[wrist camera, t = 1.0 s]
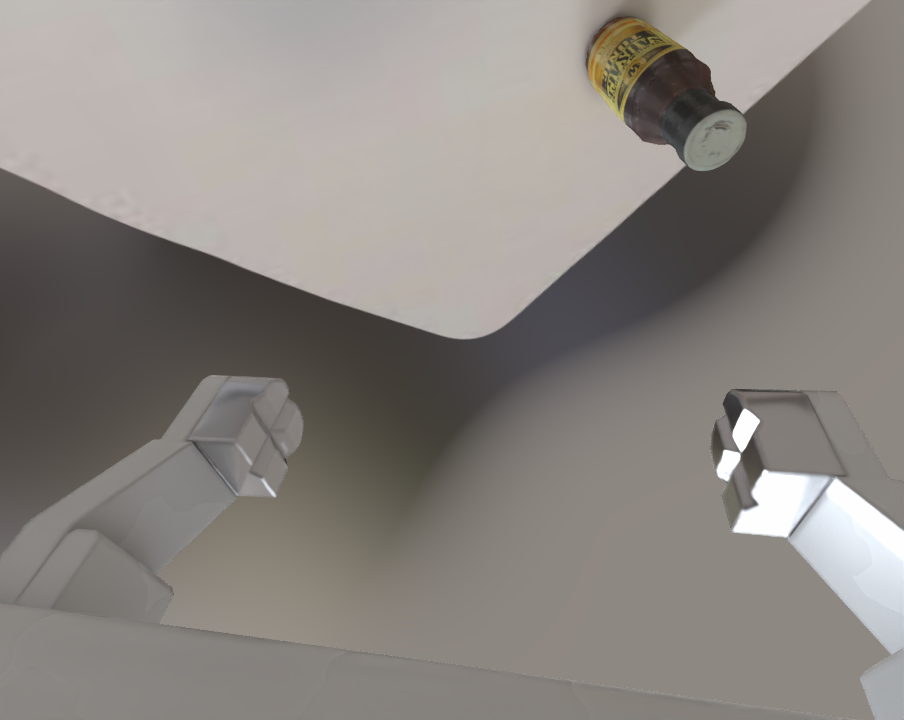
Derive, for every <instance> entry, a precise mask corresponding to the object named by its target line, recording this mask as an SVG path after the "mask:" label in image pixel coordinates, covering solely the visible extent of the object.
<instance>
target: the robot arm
mask: <svg viewBox="0 0 904 720" xmlns="http://www.w3.org/2000/svg"><path fill="white" fill-rule="evenodd" d="M289 392H290V390H289V388H288V386H287V384H286V383H285V381H284V379H278V378H263V377H244V376H243V377H242V376H217V375H216V376H215V375H210V376H209V377H207V378H205V379H203V380H202V381H201V383H200V384H199V386H198V387H197V388H196V390H195V391H194V393H193V394H192V396H191V397H190V398H189V400H188V401H187V403H186V404H185V405H184V407H183V408H182V410H181V411H180V413H179V414H178V416H177V417H176V418H175V420H174V421H173V423H172V424H171V425H170V427H169V428H168V430H167V431H166V433H165V434H164V435H163V437H162V438H161V440H152V441H151V442H149V443H147V444H146V445H144V446H143V447H141V448H140V449H138V450H137V451H135V452H134V453H132V454H131V455H129V456H127V457H126V458H124V459H123V460H121V461H120V462H118V463H117V464H115V465H114V466H112V467H111V468H109V469H107V470H106V471H104V472H103V473H102V474H100V475H98V476H97V477H95V478H94V479H92V480H91V481H89V482H87V483H86V484H84V485H83V486H81V487H80V488H78V489H77V490H75V491H74V492H72V493H71V494H69V495H68V496H66V497H64V498H63V499H62V500H60V501H58V502H57V503H56V504H54V505H52V506H51V507H49V508H48V509H46V510H45V511H43V512H42V513H40V514H39V515H37V516H35V517H34V518H32V519H31V520H29V521H28V522H27V523H26V524H25V526H24V527H23V528H22V529H21V531H20V532H19V533H18V534H17V535H16V537H15V538H14V539H13V540H12V542H11V543H10V544H9V545H8V547H7V548H6V549H5V550H4V551H3V553H2V554H1V555H0V720H859V719H851V718H845V717H837V716H830V715H822V714H815V713H807V712H800V711H793V710H786V709H778V708H771V707H764V706H757V705H749V704H741V703H735V702H726V701H719V700H713V699H705V698H698V697H691V696H683V695H676V694H668V693H661V692H654V691H647V690H639V689H632V688H625V687H617V686H610V685H602V684H595V683H587V682H581V681H573V680H565V679H559V678H551V677H544V676H537V675H529V674H522V673H514V672H507V671H500V670H492V669H485V668H478V667H471V666H463V665H456V664H448V663H441V662H434V661H427V660H419V659H412V658H405V657H397V656H389V655H383V654H375V653H368V652H361V651H353V650H346V649H339V648H331V647H323V646H317V645H309V644H301V643H295V642H287V641H280V640H272V639H265V638H258V637H250V636H243V635H236V634H229V633H222V632H214V631H207V630H200V629H192V628H185V627H178V626H169V625H163V624H159V622H160V621H161V619H162V617H163V615H164V613H165V611H166V609H167V607H168V605H169V603H170V601H171V599H172V597H173V595H174V593H173V589H172V587H171V586H170V585H168V584H167V583H166V582H165V581H163V580H162V579H161V578H159V577H158V576H157V575H156V574H158V573H159V572H160V571H161V570H162V569H163V568H164V567H165V566H166V565H167V564H168V563H169V562H170V561H171V560H172V559H173V558H174V557H175V556H176V555H177V554H179V553H180V552H181V551H182V549H184V548H185V547H186V546H187V545H188V544H189V543H190V542H191V541H192V540H193V539H194V538H195V537H196V536H197V535H198V534H199V533H200V532H201V531H202V530H204V529H205V528H206V527H207V526H208V525H209V524H210V523H211V522H212V521H213V520H214V519H215V518H216V517H217V516H218V515H219V514H220V513H221V512H223V511H224V510H225V509H226V508H227V507H228V505H230V504H231V503H232V502H233V501H234V500H235V499H236V498H237V496H236V495H239V496H260V497H276V495H277V493H278V490H279V488H280V486H281V484H282V482H283V479H284V477H285V475H286V473H287V470H288V465H287V462H286V458H287V457H288V456H289V455H291V454H292V453H293V452H295V451H296V450H297V448H298V445H299V443H300V441H301V439H302V433H303V425H304V423H303V417H302V413H301V411H300V409H299V407H298V405H297V404H295V403H294V402H292V401H291V400H290V399H288V398H287V396H288V394H289ZM723 407H724V409H725V413H726V415H725V416H723V417H721V418H720V419H718V420H716V422H715V425H714V428H713V431H712V434H711V456H712V462H713V466H714V470H715V473H716V474H717V475H718V476H719V477H720V478H721V479H722V480H724V481H725V482H726V483H727V485H726V487H725V489H724V492H723V494H722V500H723V503H724V507H725V510H726V514H727V518H728V521H729V525H730V528H731V532H737V533H747V534H757V535H767V536H777V537H787V538H789V539H788V541H789V542H790V543H791V544H792V545H793V547H794V548H795V549H796V550H797V551H798V552H799V553H800V554H801V555H802V556H803V557H804V559H805V560H806V561H807V562H808V563H809V564H810V565H811V566H812V568H813V569H814V570H815V571H816V572H817V573H818V574H819V575H820V576H821V577H822V578H823V580H824V581H825V582H826V583H827V584H828V585H829V586H830V587H831V588H832V589H833V591H834V592H835V593H836V594H837V595H838V596H839V597H840V598H841V599H842V601H844V603H845V604H846V605H847V606H848V607H849V608H850V609H851V610H852V612H853V613H854V614H855V615H856V616H857V617H858V618H859V619H860V620H861V622H863V624H864V625H865V626H866V627H867V628H868V629H869V630H870V632H871V633H872V634H873V635H874V636H875V637H876V638H877V639H878V640H879V641H880V643H881V644H882V645H883V646H884V647H885V648H886V649H887V650H888V651H889V652H890V654H891V656H889V657H887V658H886V659H884V660H882V661H881V662H879V663H877V664H876V665H874V666H872V667H871V668H869V669H867V670H866V671H865V672H864V674H863V675H862V676H861V677H860V680H861V683H862V685H863V688H864V691H865V693H866V696H867V699H868V701H869V704H870V707H871V709H872V712H873V715H874V718H875V720H904V481H902V480H893V479H890V478H889V477H888V475H887V473H886V471H885V469H884V468H883V466H882V464H881V462H880V461H879V459H878V457H877V455H876V454H875V452H874V450H873V448H872V447H871V445H870V443H869V441H868V440H867V438H866V436H865V434H864V433H863V431H862V429H861V427H860V425H859V424H858V422H857V421H856V418H855V417H854V415H853V413H852V412H851V410H850V408H849V406H848V404H847V403H846V401H845V399H844V397H843V396H842V395H840V394H839V393H837V391H804V390H800V391H797V390H759V389H753V390H752V389H732V390H731V391H730V392H728V393H727V395H726V397H725V399H724V402H723Z"/></svg>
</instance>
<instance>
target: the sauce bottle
mask: <svg viewBox="0 0 904 720" xmlns="http://www.w3.org/2000/svg"><path fill="white" fill-rule="evenodd" d="M586 68H587V72H588V76H589V80H590V82H591V84H592V86H593V87H594V88H595V90H596V91H597V92H598V93H599V94H600V95H601V96H602V98H603V99H604V100H605V101H606V103H607V104H608V105H609V106H610V107H611V108H612V110H613V111H614V112H615V113H616V114H617V115H618V116H619V117H620V118H621V120H622V121H623V122H624V123H625V124H626V125H627V126H628V127H629V128H631V129H632V130H633V131H634V132H635V133H636V134H637V135H638V136H639V137H640V138H641V140H642V141H644V142H649V143H653V144H658V145H665V144H670V145H671V146H673V147H674V148H675V149H676V152H677V154H678V156H679V158H680V159H681V160H682V161H683V162H684V163H685V164H686V165H687V166H688V167H690V168H692V169H694V170H697V171H706V170H712V169H714V168H717V167H719V166H721V165H723V164H724V163H726V162H727V161H728V160H729V159H730V158H731V157H732V156H733V155H734V154H735V153H736V152H737V151H738V150H739V149H740V147H741V145H742V143H743V141H744V139H745V136H746V124H747V123H746V120H745V118H744V115H743V114H742V113H741V112H740V111H739V110H738V109H737V108H735V107H734V106H733V105H732V104H730V103H728V102H724V101H719V100H718V99H717V98H716V97H715V90H714V88H713V85H712V82H711V71H710V69H709V67H708V66H707V65H706V64H704V63H703V62H701V61H699V60H698V59H696V58H695V56H694V55H693V54H692V53H691V52H690V51H688V50H687V49H686V48H684V47H683V46H681V45H680V44H678V43H677V42H675V41H674V40H672V39H671V38H669V37H667V36H666V35H664V34H663V33H662V32H660V31H659V30H657V29H656V28H654V27H653V26H651V25H650V24H648V23H647V22H645V21H643V20H640V19H637V18H631V17H623V18H622V17H620V18H617V19H615V20H613V21H611V22H610V23H608V24H607V25H605V26H604V27H603V28H601V29H600V30H599V32H598V33H597V34H596V35H595V36H594V38H593V40H592V42H591V45H590V47H589V51H588V53H587V59H586Z"/></svg>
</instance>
